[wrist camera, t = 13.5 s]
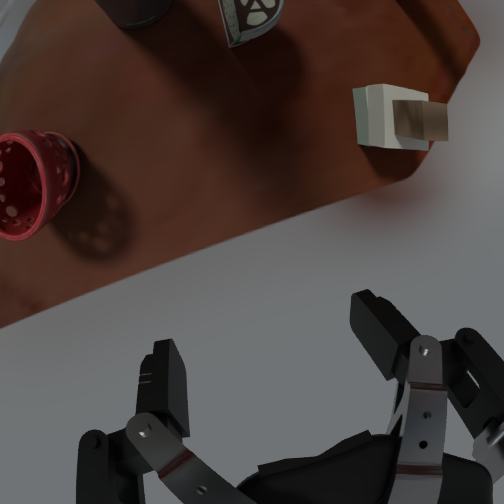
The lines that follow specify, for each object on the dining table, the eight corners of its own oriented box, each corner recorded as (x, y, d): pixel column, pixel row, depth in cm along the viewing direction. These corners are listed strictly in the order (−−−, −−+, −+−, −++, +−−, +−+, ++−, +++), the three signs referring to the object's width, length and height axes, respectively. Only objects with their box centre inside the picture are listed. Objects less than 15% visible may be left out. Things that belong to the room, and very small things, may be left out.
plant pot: (48, 110, 28) (2, 110, 17) (103, 164, 34) (68, 181, 23) (7, 177, 30) (-37, 199, 19) (57, 228, 36) (21, 264, 25)
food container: (274, 52, 31) (299, 32, 22) (231, 57, 31) (243, 36, 22) (257, -15, 26) (275, -47, 17) (215, -11, 25) (222, -45, 16)
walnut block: (392, 99, 30) (421, 100, 24) (417, 102, 30) (446, 104, 25) (394, 135, 32) (424, 140, 27) (419, 135, 32) (448, 141, 27)
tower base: (351, 89, 36) (365, 87, 32) (394, 92, 37) (409, 91, 33) (356, 143, 40) (370, 146, 36) (398, 141, 41) (413, 144, 37)
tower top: (366, 85, 32) (382, 83, 28) (411, 93, 33) (427, 93, 30) (368, 144, 36) (384, 147, 32) (411, 146, 37) (428, 150, 34)
